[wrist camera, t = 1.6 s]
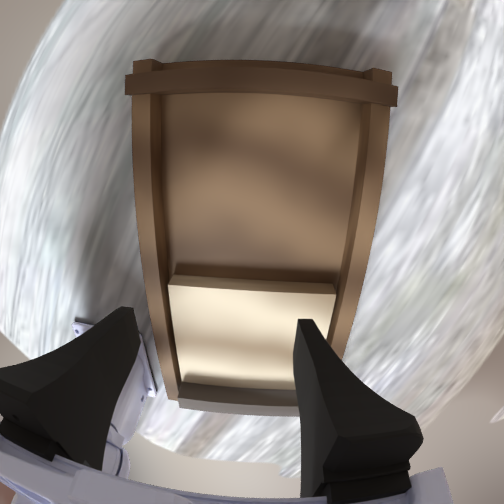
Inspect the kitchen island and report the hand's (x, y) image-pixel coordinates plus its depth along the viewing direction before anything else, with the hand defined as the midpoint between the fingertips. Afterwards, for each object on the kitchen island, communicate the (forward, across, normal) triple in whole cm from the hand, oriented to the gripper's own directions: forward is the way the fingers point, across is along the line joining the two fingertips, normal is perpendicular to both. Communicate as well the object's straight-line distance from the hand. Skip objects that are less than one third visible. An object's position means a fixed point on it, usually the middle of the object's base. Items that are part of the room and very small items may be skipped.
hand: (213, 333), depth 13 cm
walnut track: (+10, -1, +2) cm, 11 cm away
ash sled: (+9, -1, +9) cm, 13 cm away
